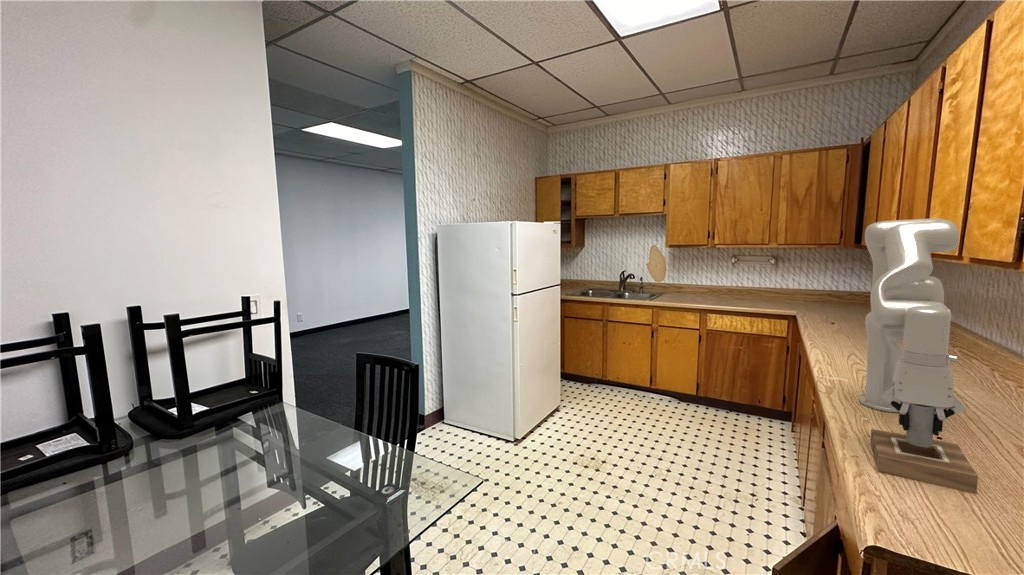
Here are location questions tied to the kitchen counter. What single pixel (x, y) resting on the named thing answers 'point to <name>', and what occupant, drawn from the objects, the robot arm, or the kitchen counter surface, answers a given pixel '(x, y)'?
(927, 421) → the grey hollow tube
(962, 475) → the brown flat square frame
